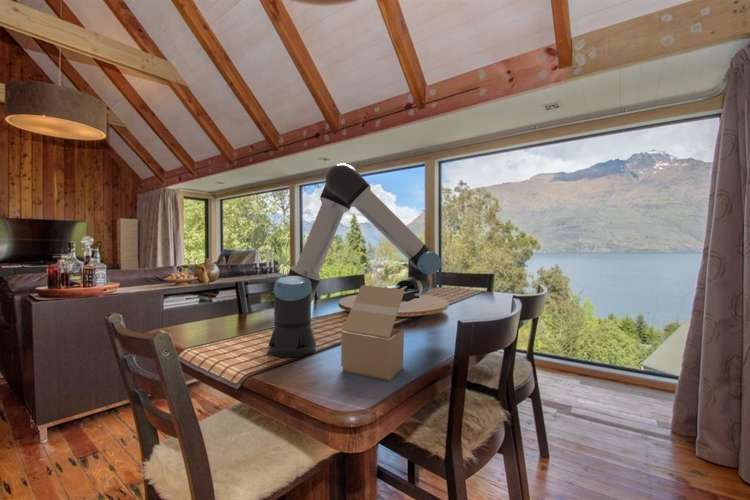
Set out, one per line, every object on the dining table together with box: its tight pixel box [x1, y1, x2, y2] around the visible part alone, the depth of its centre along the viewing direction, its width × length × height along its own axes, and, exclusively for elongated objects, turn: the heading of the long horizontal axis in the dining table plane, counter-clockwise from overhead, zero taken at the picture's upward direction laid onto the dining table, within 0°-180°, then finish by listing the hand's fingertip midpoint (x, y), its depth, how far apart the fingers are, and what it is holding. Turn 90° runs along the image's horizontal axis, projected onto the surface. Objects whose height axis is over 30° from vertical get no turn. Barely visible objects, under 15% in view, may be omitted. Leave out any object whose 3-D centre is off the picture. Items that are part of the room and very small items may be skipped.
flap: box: [342, 284, 405, 338], centre depth 96 cm, size 14×15×1 cm
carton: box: [340, 328, 405, 382], centre depth 96 cm, size 15×10×11 cm
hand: (380, 300), depth 99 cm, fingers closed
